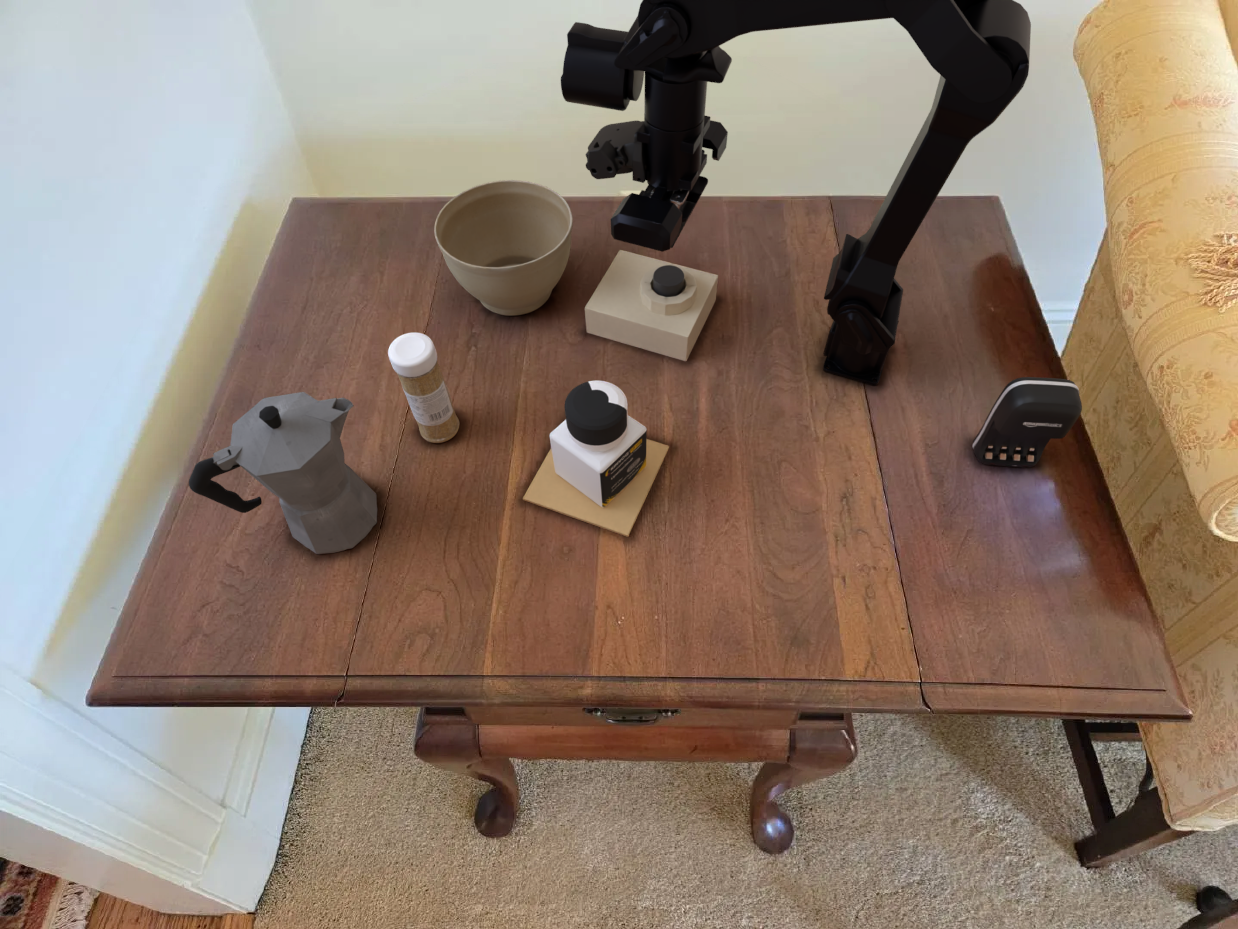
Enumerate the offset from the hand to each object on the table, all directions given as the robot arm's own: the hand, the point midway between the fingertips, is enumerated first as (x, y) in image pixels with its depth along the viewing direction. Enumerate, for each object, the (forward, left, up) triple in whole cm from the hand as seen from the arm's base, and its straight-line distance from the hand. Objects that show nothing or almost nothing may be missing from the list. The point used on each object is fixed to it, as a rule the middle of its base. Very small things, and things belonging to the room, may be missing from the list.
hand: (668, 245), depth 86 cm
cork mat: (-1, +24, -12) cm, 27 cm away
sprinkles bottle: (+18, +25, -12) cm, 33 cm away
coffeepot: (+23, +40, -12) cm, 48 cm away
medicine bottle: (-1, +24, -12) cm, 26 cm away
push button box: (+2, 0, -12) cm, 12 cm away
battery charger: (-41, +6, -12) cm, 43 cm away
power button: (0, 0, -6) cm, 6 cm away
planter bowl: (+20, +2, -12) cm, 23 cm away
